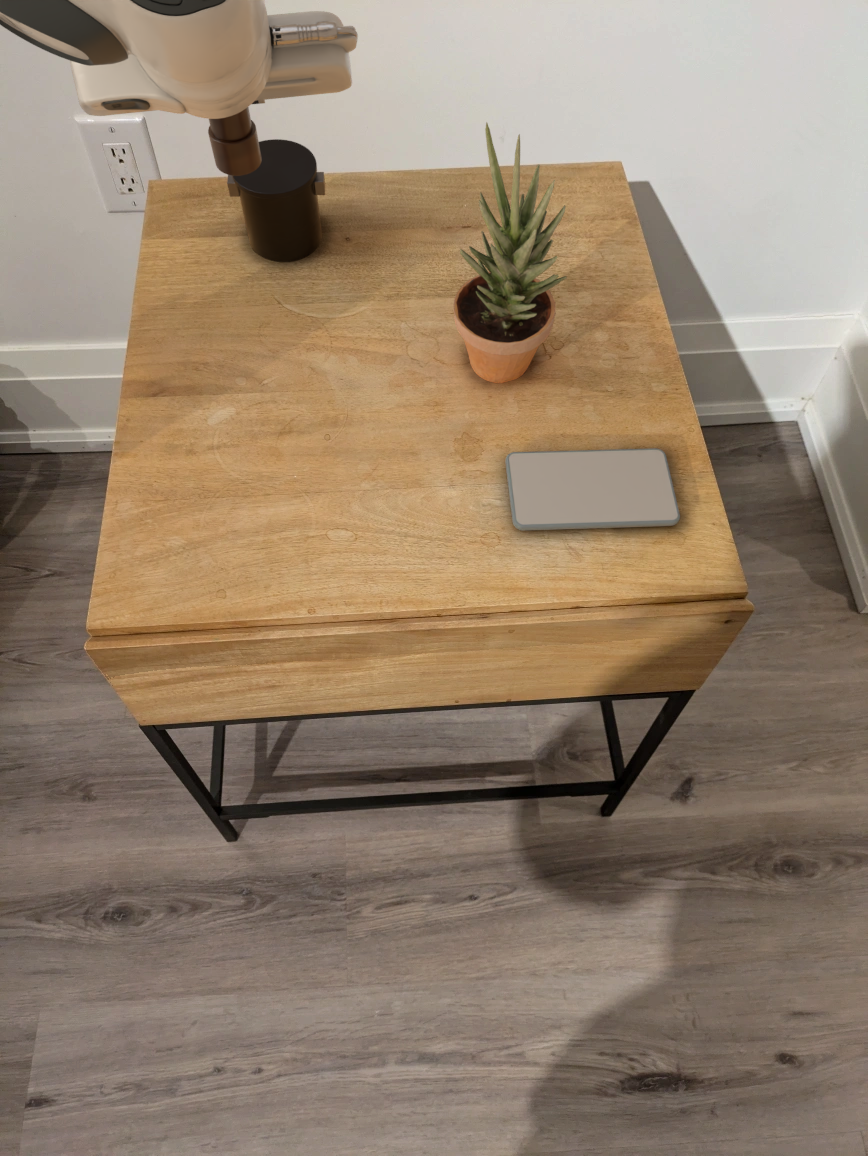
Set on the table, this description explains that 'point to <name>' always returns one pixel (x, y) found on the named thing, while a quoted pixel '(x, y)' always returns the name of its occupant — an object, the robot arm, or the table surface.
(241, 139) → the walnut pestle
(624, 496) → the smartphone
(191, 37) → the robot arm
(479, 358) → the potted plant
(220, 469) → the table surface
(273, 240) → the black cooking pot
